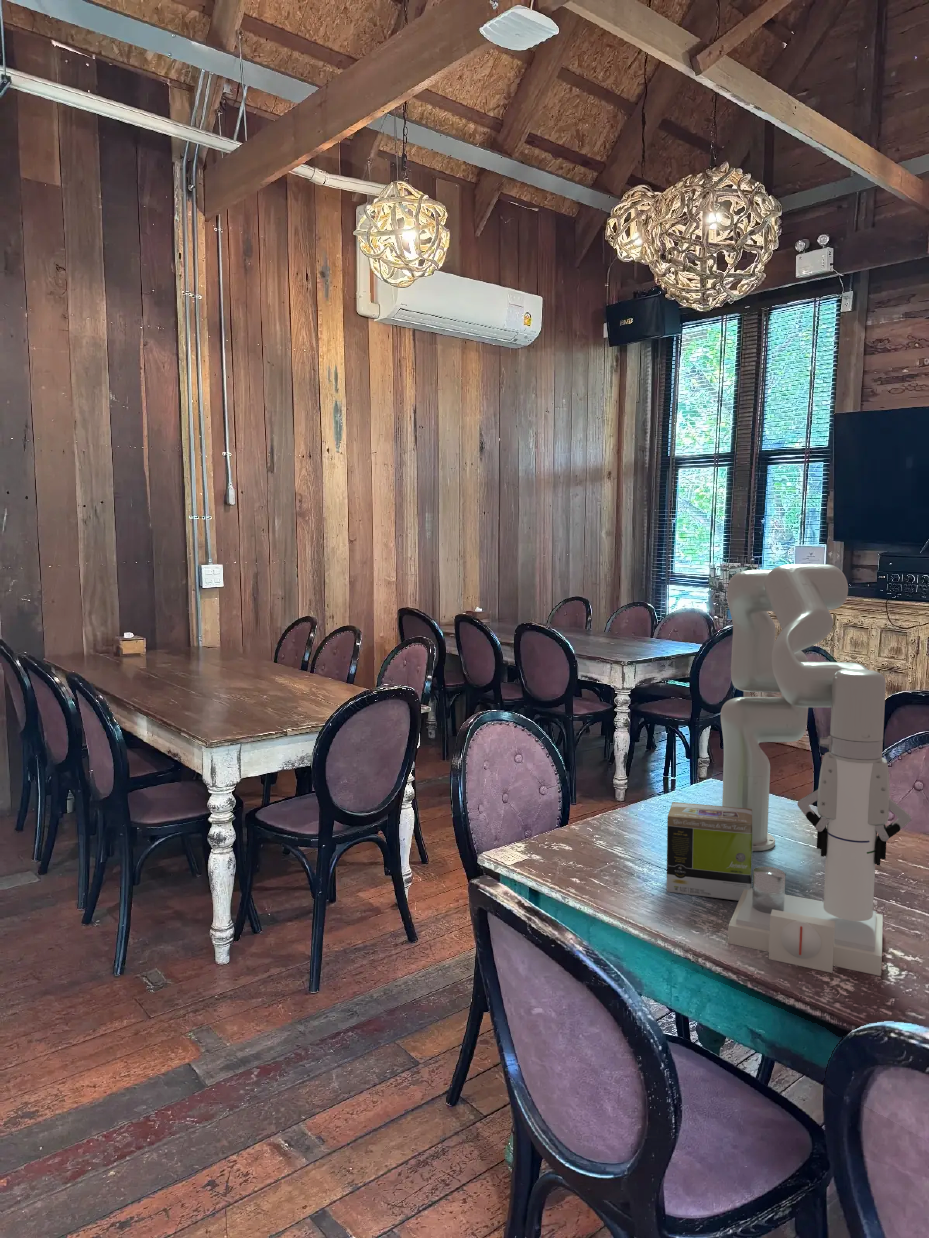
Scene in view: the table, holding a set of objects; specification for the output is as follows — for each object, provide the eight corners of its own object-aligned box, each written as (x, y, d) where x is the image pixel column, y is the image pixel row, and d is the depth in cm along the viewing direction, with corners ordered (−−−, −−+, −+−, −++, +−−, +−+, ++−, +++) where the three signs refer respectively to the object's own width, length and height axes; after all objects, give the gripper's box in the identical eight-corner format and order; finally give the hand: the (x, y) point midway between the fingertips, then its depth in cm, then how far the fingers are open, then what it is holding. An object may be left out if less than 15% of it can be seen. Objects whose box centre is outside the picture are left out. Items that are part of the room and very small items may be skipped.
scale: (724, 951, 130) (726, 908, 130) (743, 905, 147) (744, 867, 147) (880, 985, 120) (883, 938, 120) (881, 932, 137) (883, 891, 137)
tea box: (751, 883, 157) (753, 807, 156) (751, 904, 148) (754, 823, 146) (669, 873, 162) (672, 799, 161) (664, 892, 153) (667, 814, 151)
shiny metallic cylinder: (750, 909, 137) (751, 874, 136) (754, 898, 141) (755, 864, 141) (782, 916, 134) (783, 880, 134) (785, 904, 139) (787, 869, 138)
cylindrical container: (814, 902, 135) (821, 751, 133) (856, 900, 136) (864, 751, 134) (838, 921, 128) (845, 763, 126) (882, 920, 129) (890, 762, 127)
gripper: (793, 746, 130) (789, 856, 132) (919, 760, 123) (913, 876, 124) (798, 737, 137) (794, 841, 139) (918, 749, 129) (912, 860, 131)
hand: (850, 857), depth 131 cm, fingers closed on cylindrical container, 7 cm apart
